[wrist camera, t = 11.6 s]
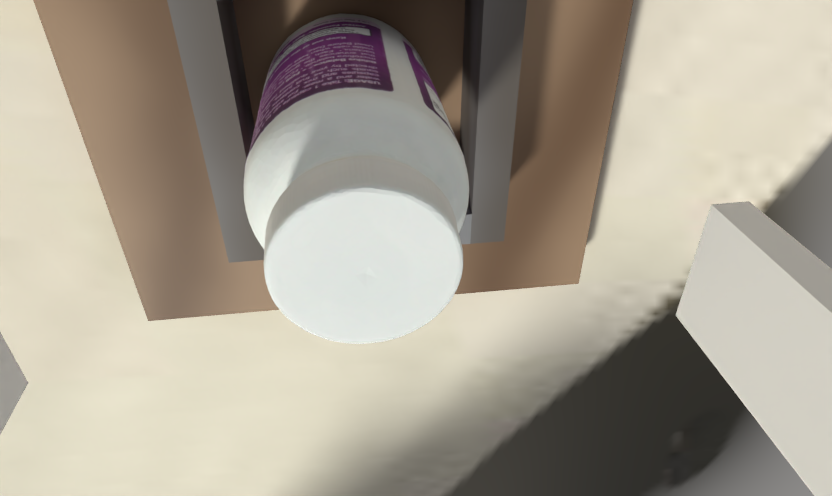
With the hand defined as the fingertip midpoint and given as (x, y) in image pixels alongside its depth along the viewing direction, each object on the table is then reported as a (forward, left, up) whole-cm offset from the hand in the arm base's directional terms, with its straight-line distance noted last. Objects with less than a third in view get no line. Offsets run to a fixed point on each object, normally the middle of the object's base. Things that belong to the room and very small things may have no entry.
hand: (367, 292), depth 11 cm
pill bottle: (0, 0, -11) cm, 11 cm away
